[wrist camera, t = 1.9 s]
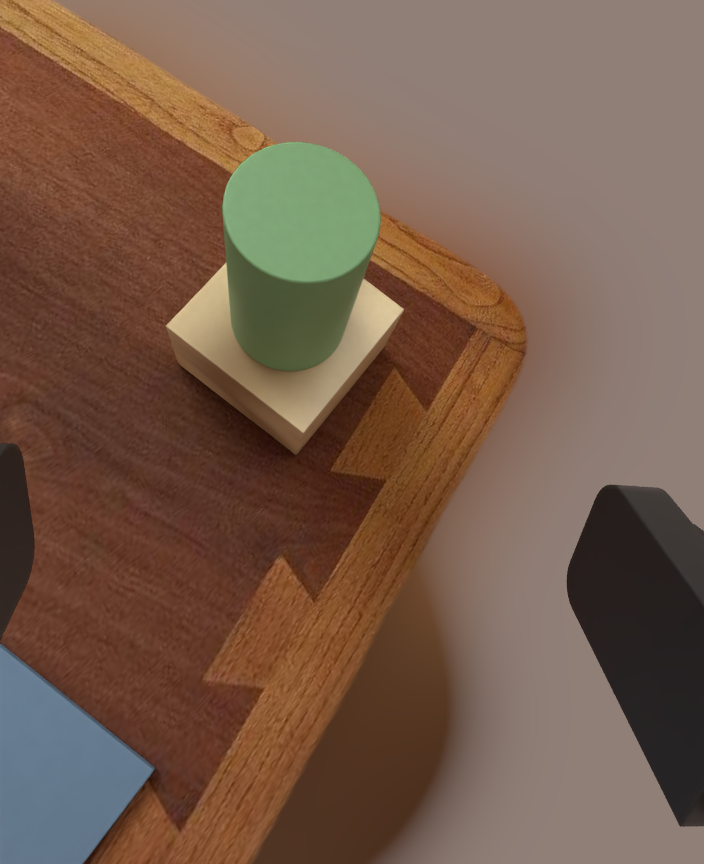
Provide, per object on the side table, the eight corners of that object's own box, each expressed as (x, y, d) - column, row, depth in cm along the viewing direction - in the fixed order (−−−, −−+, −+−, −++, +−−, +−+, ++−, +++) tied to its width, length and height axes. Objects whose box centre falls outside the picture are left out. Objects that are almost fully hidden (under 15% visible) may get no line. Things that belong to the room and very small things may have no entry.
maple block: (384, 346, 37) (404, 309, 32) (296, 455, 34) (303, 433, 30) (272, 260, 37) (275, 210, 32) (177, 363, 35) (165, 326, 30)
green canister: (367, 311, 32) (411, 205, 23) (298, 394, 30) (317, 314, 21) (279, 244, 32) (290, 113, 23) (206, 323, 30) (188, 214, 22)
